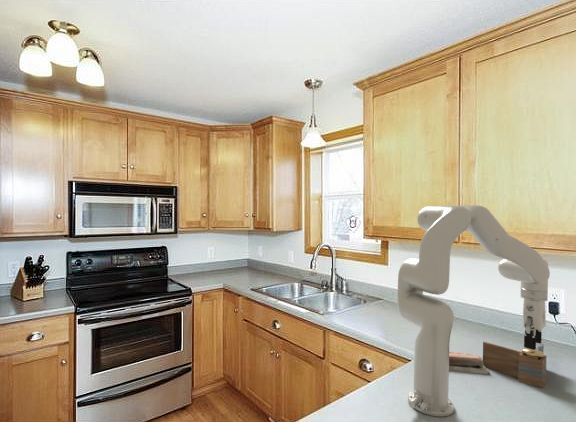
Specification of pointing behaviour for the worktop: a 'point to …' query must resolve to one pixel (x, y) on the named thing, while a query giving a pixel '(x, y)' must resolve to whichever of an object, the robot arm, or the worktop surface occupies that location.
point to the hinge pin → (532, 353)
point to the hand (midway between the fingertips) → (532, 345)
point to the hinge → (516, 363)
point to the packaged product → (466, 363)
